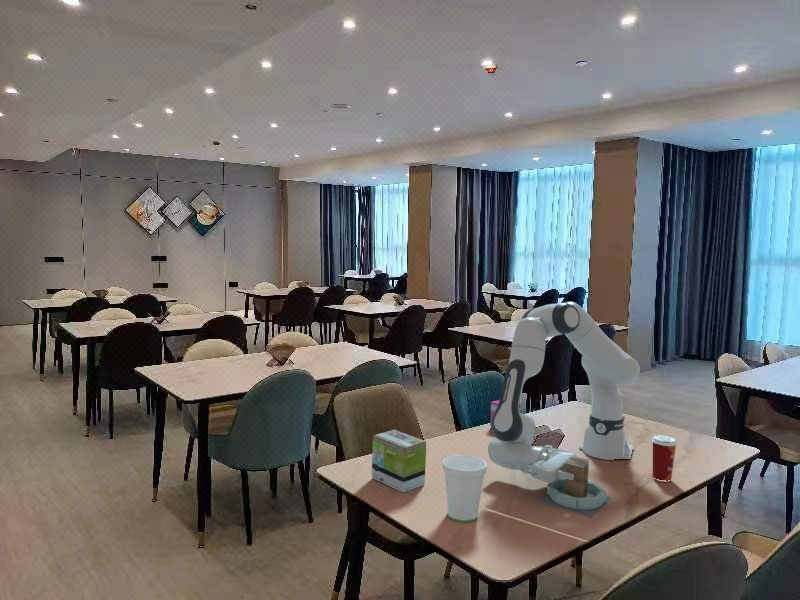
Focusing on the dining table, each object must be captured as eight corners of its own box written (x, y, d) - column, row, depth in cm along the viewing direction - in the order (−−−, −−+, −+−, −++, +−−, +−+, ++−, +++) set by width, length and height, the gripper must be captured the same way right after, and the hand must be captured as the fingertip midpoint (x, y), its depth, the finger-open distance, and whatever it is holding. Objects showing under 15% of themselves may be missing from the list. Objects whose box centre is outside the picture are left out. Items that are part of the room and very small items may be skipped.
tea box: (370, 479, 191) (371, 434, 190) (392, 471, 198) (394, 428, 197) (403, 494, 180) (404, 446, 179) (425, 485, 187) (427, 439, 186)
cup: (493, 515, 167) (495, 462, 166) (467, 530, 158) (470, 474, 157) (457, 502, 176) (459, 451, 174) (431, 515, 166) (433, 462, 165)
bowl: (560, 484, 190) (561, 474, 190) (610, 498, 181) (611, 487, 180) (540, 500, 177) (540, 489, 177) (592, 516, 168) (593, 504, 168)
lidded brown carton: (570, 491, 183) (572, 455, 182) (587, 495, 180) (589, 459, 179) (564, 496, 178) (566, 460, 177) (581, 501, 175) (583, 464, 174)
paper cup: (677, 484, 194) (680, 443, 192) (651, 482, 195) (654, 440, 194) (671, 476, 201) (674, 435, 200) (647, 473, 203) (649, 433, 202)
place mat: (561, 484, 191) (561, 483, 191) (611, 498, 182) (612, 497, 181) (538, 502, 177) (538, 501, 177) (591, 518, 167) (591, 517, 167)
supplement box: (498, 425, 253) (499, 399, 252) (509, 429, 249) (510, 402, 248) (489, 428, 249) (490, 401, 248) (500, 431, 245) (501, 404, 244)
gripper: (522, 460, 177) (567, 472, 169) (550, 443, 194) (592, 453, 186) (521, 480, 178) (566, 493, 170) (549, 462, 194) (591, 472, 186)
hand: (580, 472), depth 178 cm, fingers open, 8 cm apart
